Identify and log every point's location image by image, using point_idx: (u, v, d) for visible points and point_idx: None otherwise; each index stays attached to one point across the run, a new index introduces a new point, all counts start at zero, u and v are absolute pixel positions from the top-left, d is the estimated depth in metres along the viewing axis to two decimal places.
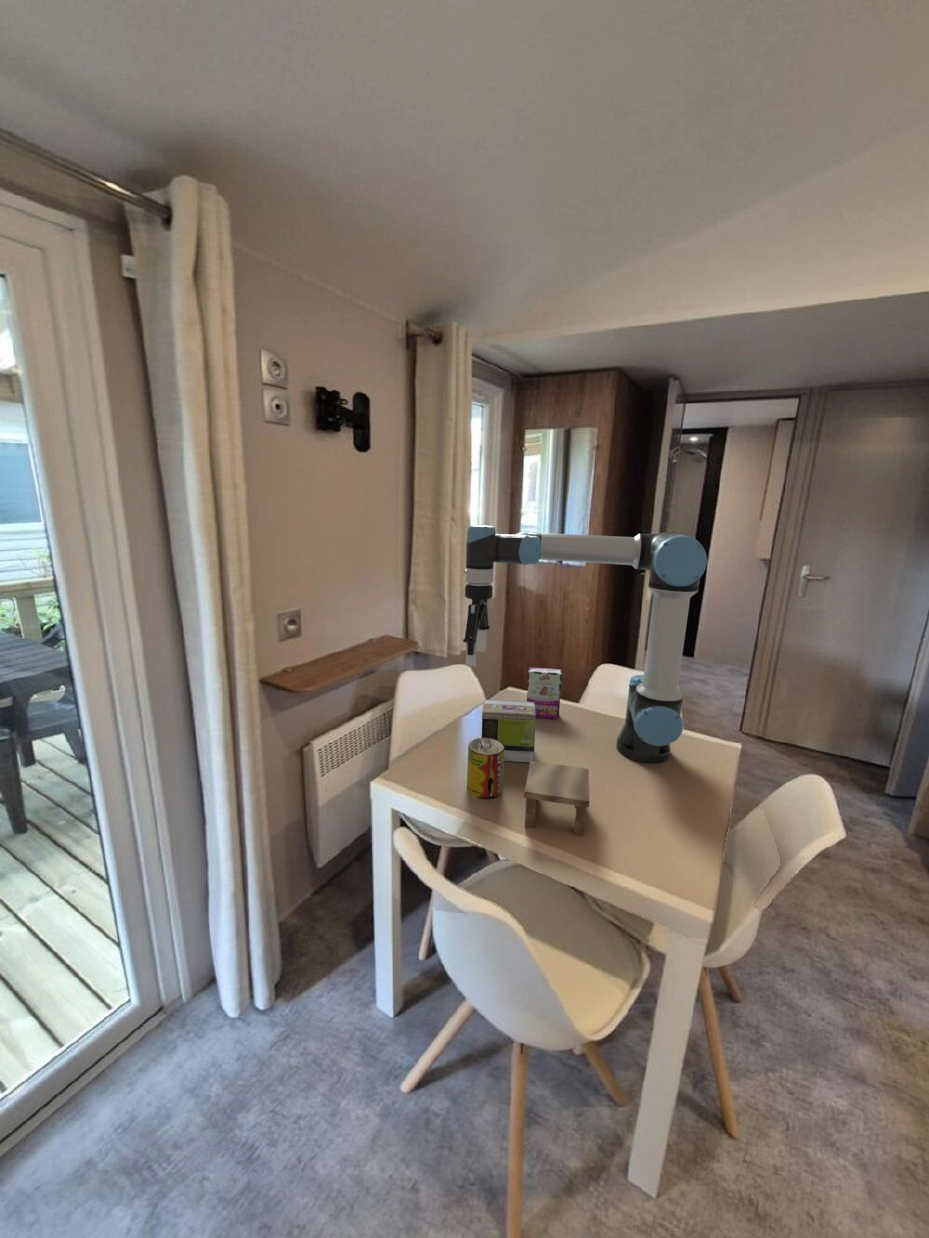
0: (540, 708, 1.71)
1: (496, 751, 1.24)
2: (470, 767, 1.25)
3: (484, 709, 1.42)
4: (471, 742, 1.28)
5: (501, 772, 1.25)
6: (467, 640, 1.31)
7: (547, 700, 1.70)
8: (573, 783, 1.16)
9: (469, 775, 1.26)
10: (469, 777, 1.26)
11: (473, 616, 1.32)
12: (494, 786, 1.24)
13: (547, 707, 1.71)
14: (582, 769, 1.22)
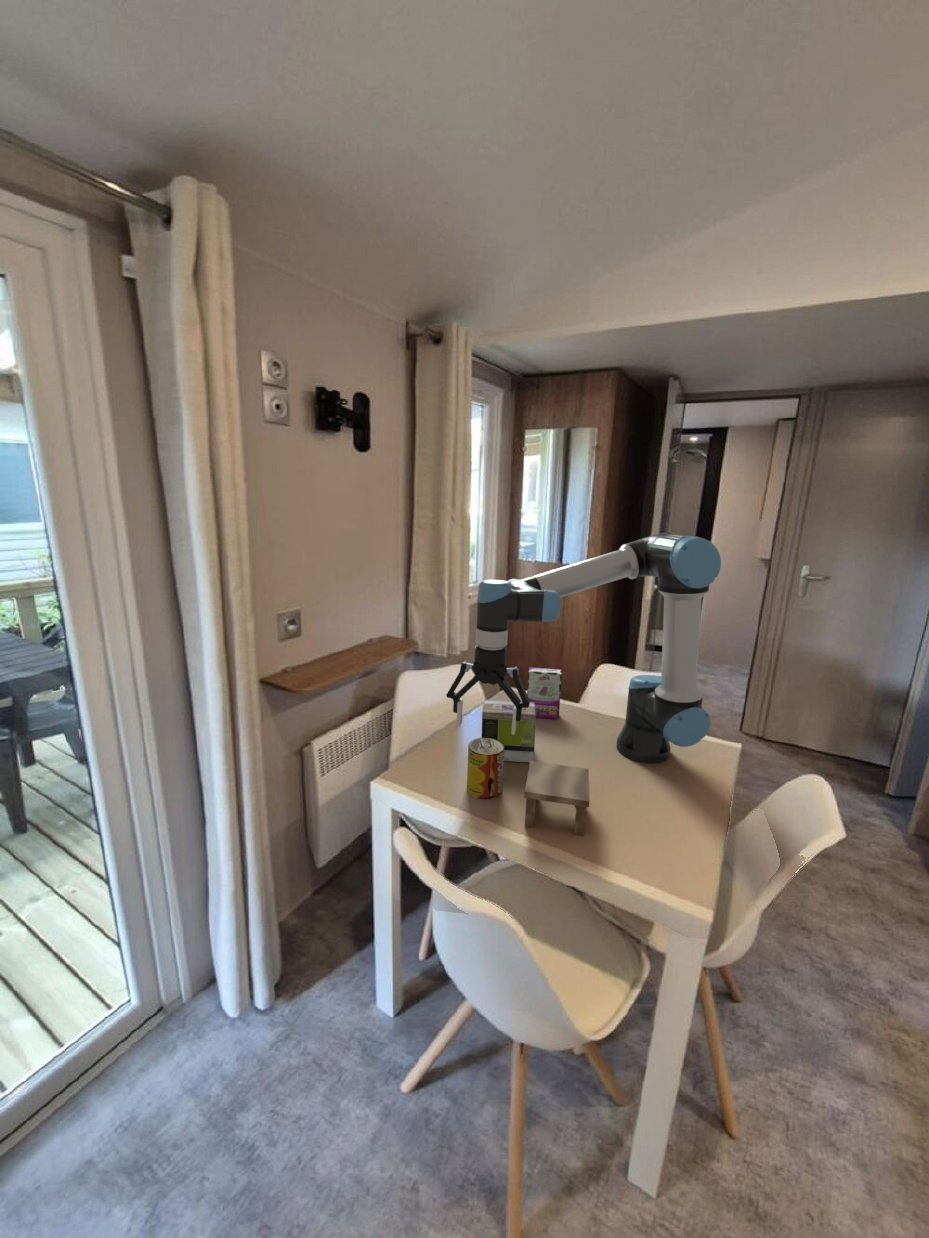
0: (540, 708, 1.71)
1: (496, 751, 1.23)
2: (470, 767, 1.25)
3: (484, 709, 1.42)
4: (471, 742, 1.28)
5: (501, 772, 1.25)
6: None
7: (547, 700, 1.70)
8: (573, 783, 1.16)
9: (469, 775, 1.26)
10: (469, 777, 1.26)
11: (459, 672, 1.23)
12: (494, 786, 1.24)
13: (547, 707, 1.71)
14: (582, 769, 1.22)
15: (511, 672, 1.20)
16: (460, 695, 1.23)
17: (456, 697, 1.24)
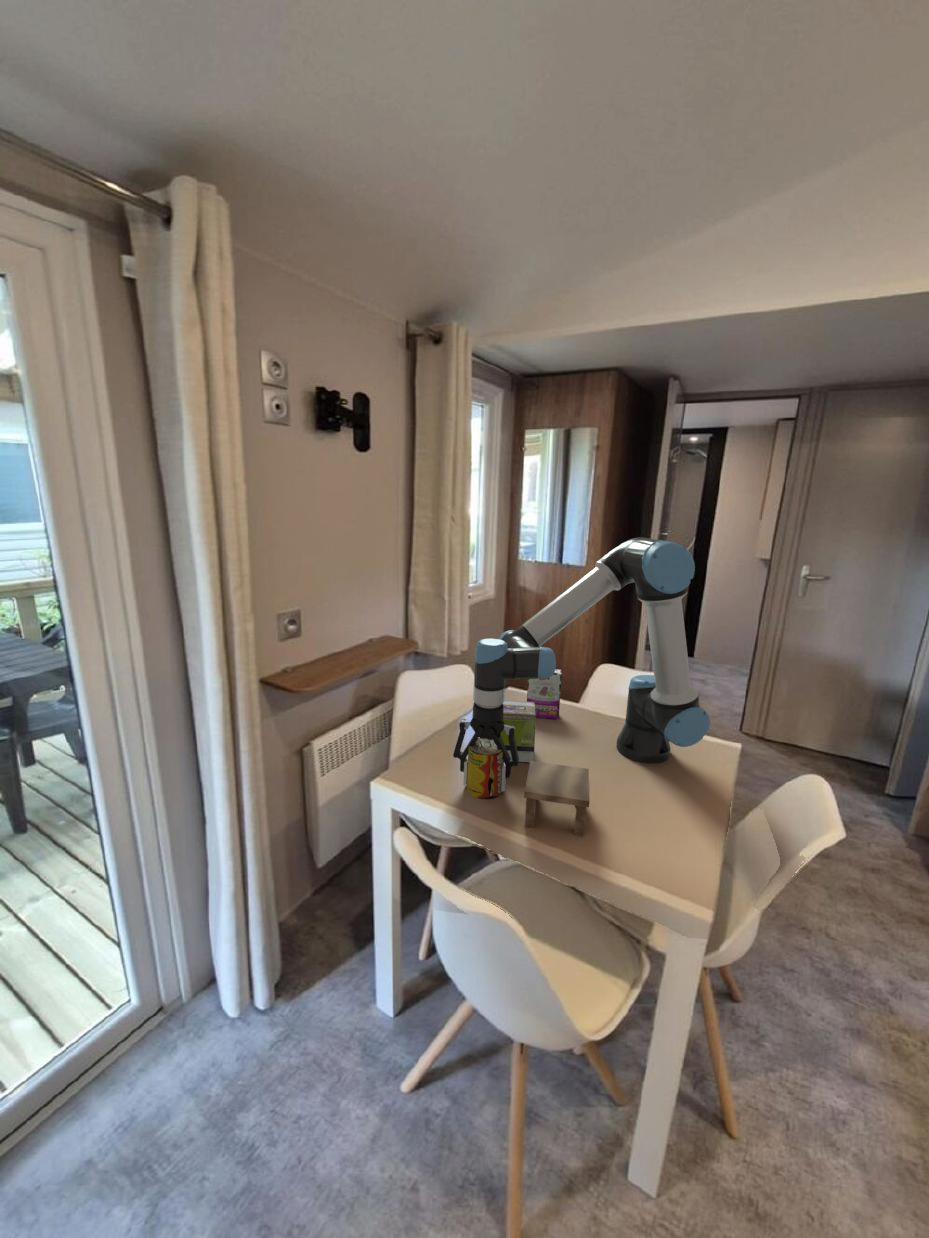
0: (540, 708, 1.71)
1: (496, 751, 1.23)
2: (470, 767, 1.25)
3: None
4: None
5: (501, 772, 1.25)
6: None
7: (547, 700, 1.70)
8: (573, 783, 1.16)
9: (469, 775, 1.26)
10: (469, 777, 1.26)
11: None
12: (494, 786, 1.24)
13: (547, 707, 1.71)
14: (582, 769, 1.22)
15: (508, 730, 1.23)
16: (465, 754, 1.27)
17: (462, 757, 1.27)
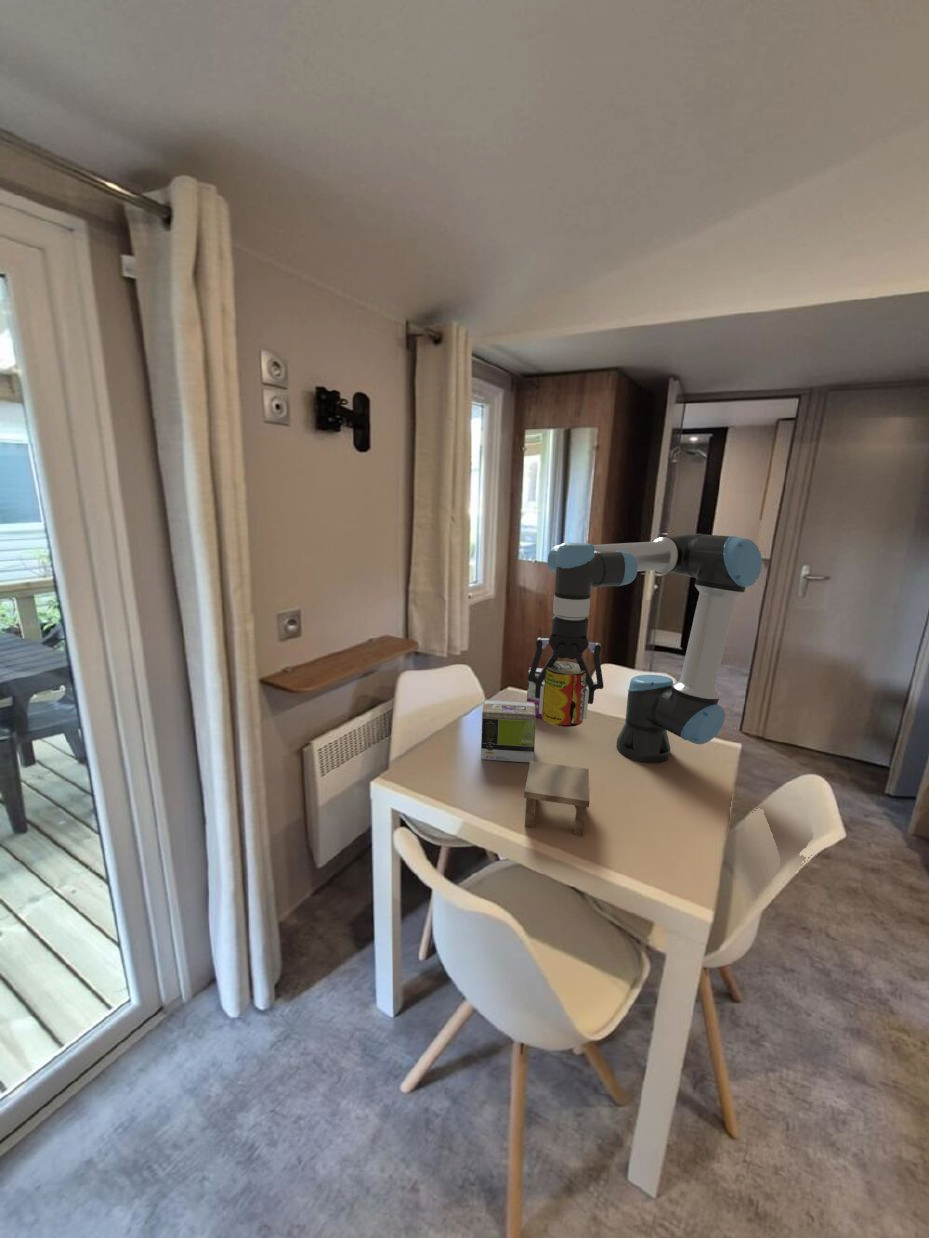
0: None
1: (580, 671, 1.09)
2: (549, 691, 1.10)
3: (484, 709, 1.42)
4: None
5: (583, 697, 1.11)
6: None
7: None
8: (573, 783, 1.16)
9: (547, 700, 1.11)
10: (547, 703, 1.11)
11: None
12: (576, 711, 1.09)
13: None
14: (582, 769, 1.22)
15: (593, 647, 1.09)
16: (542, 677, 1.12)
17: (539, 680, 1.12)
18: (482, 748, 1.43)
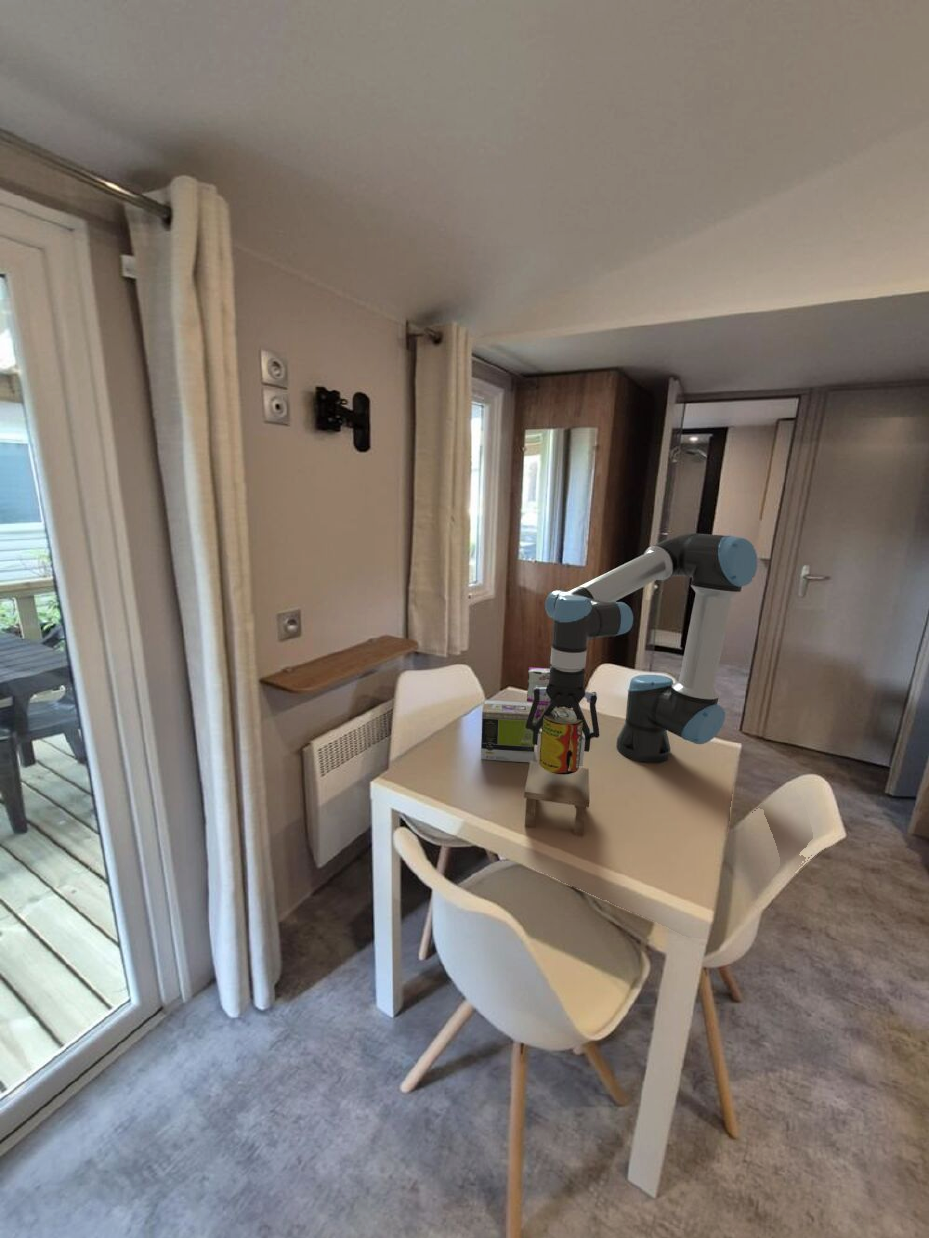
0: (540, 708, 1.71)
1: (576, 721, 1.11)
2: (546, 739, 1.13)
3: (484, 709, 1.42)
4: None
5: (580, 744, 1.13)
6: (526, 723, 1.17)
7: (547, 700, 1.70)
8: (573, 783, 1.16)
9: (544, 748, 1.13)
10: (544, 750, 1.13)
11: None
12: (572, 759, 1.12)
13: None
14: (582, 769, 1.22)
15: (589, 697, 1.11)
16: (540, 725, 1.14)
17: (536, 728, 1.14)
18: (482, 748, 1.43)
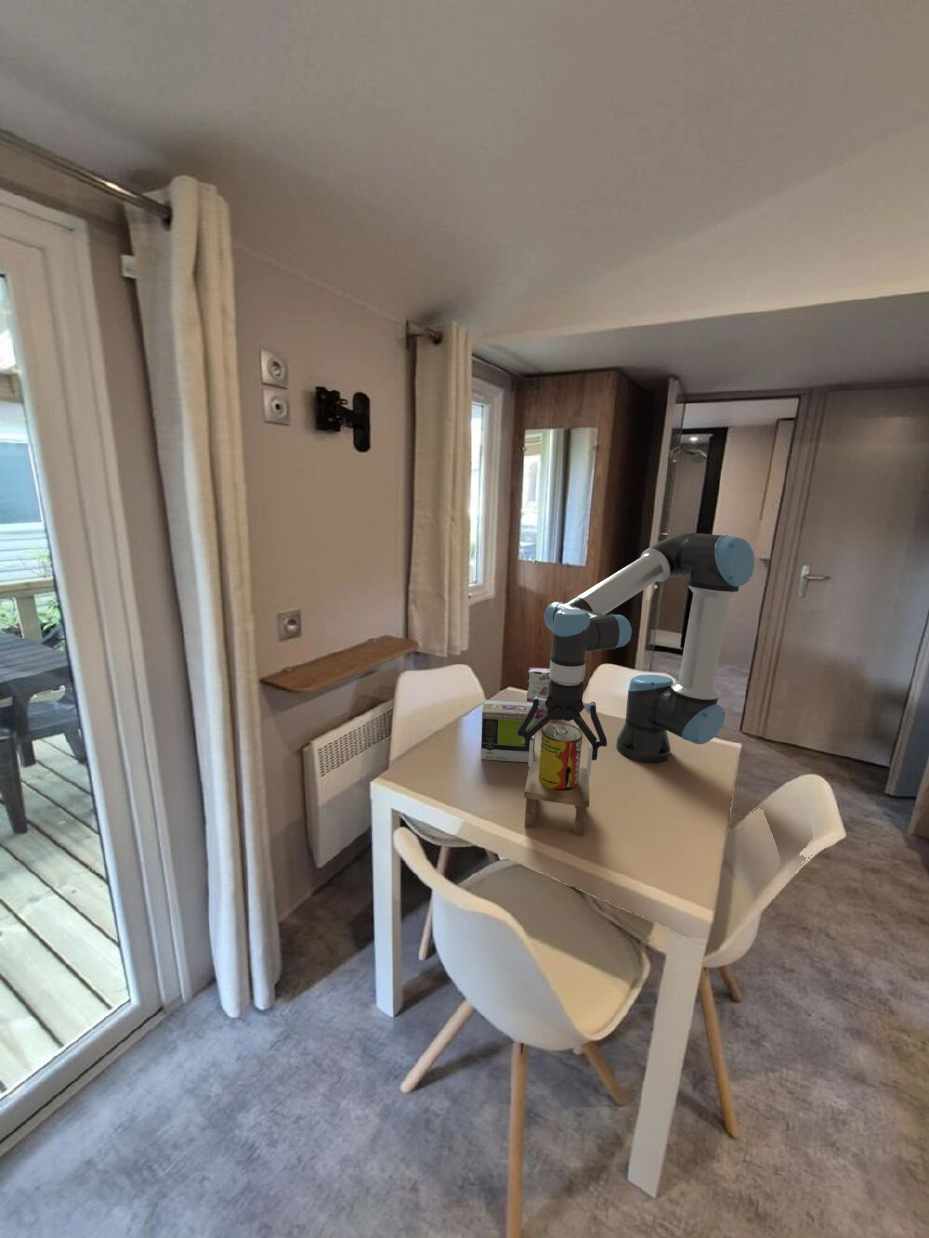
0: (540, 708, 1.71)
1: (575, 737, 1.12)
2: (545, 755, 1.14)
3: (484, 709, 1.42)
4: (544, 728, 1.16)
5: (579, 761, 1.14)
6: (518, 730, 1.17)
7: None
8: None
9: (543, 764, 1.14)
10: (543, 766, 1.14)
11: (531, 708, 1.15)
12: (571, 776, 1.13)
13: None
14: (582, 769, 1.22)
15: (588, 708, 1.12)
16: (533, 733, 1.15)
17: (528, 735, 1.15)
18: (482, 748, 1.43)
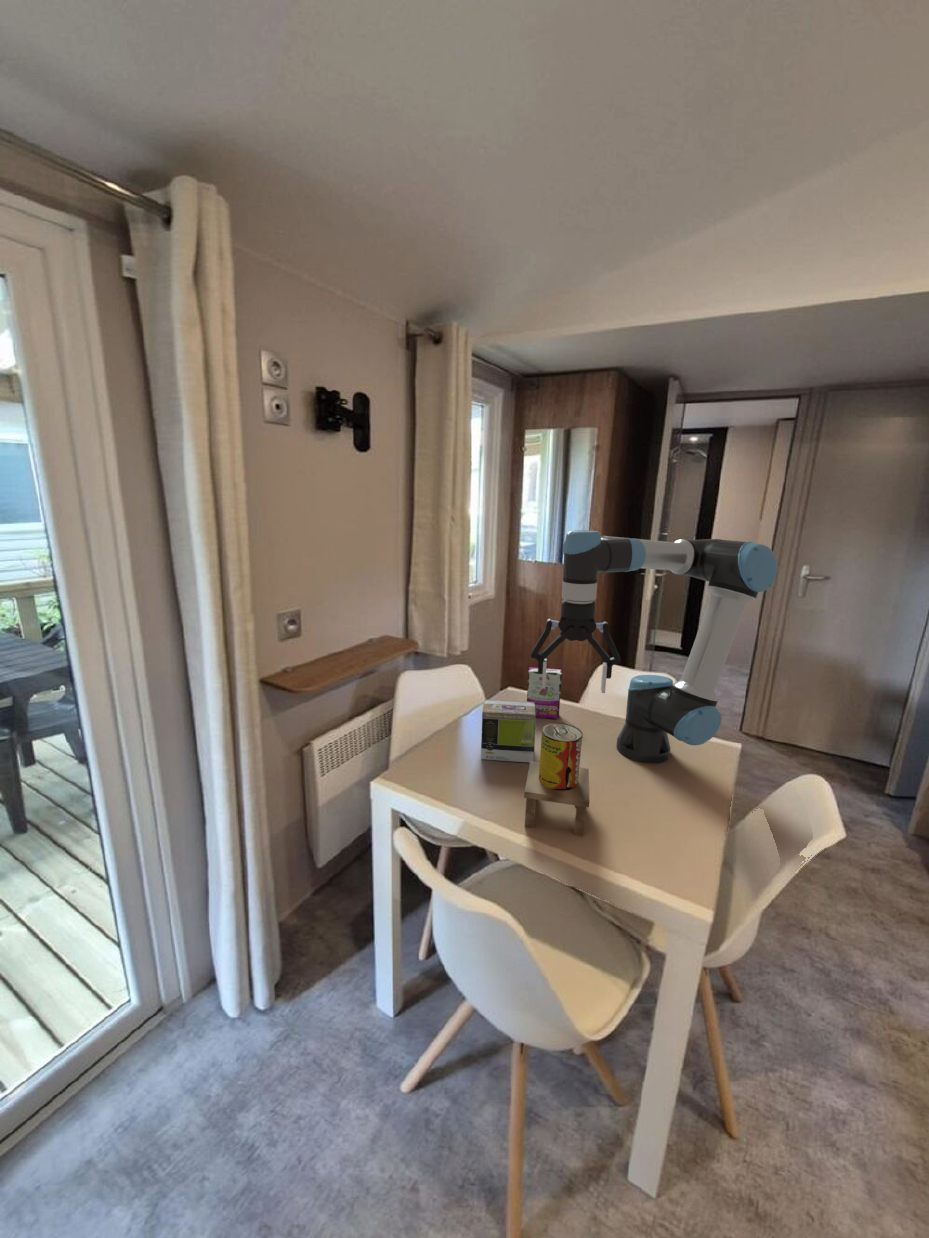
0: (540, 708, 1.71)
1: (575, 737, 1.12)
2: (545, 755, 1.14)
3: (484, 709, 1.42)
4: (544, 728, 1.16)
5: (579, 761, 1.14)
6: (531, 653, 1.20)
7: (547, 700, 1.70)
8: None
9: (543, 764, 1.14)
10: (543, 766, 1.14)
11: (544, 631, 1.17)
12: (571, 776, 1.13)
13: (547, 707, 1.71)
14: (582, 769, 1.22)
15: (601, 627, 1.14)
16: (546, 654, 1.17)
17: (541, 657, 1.18)
18: (482, 748, 1.43)
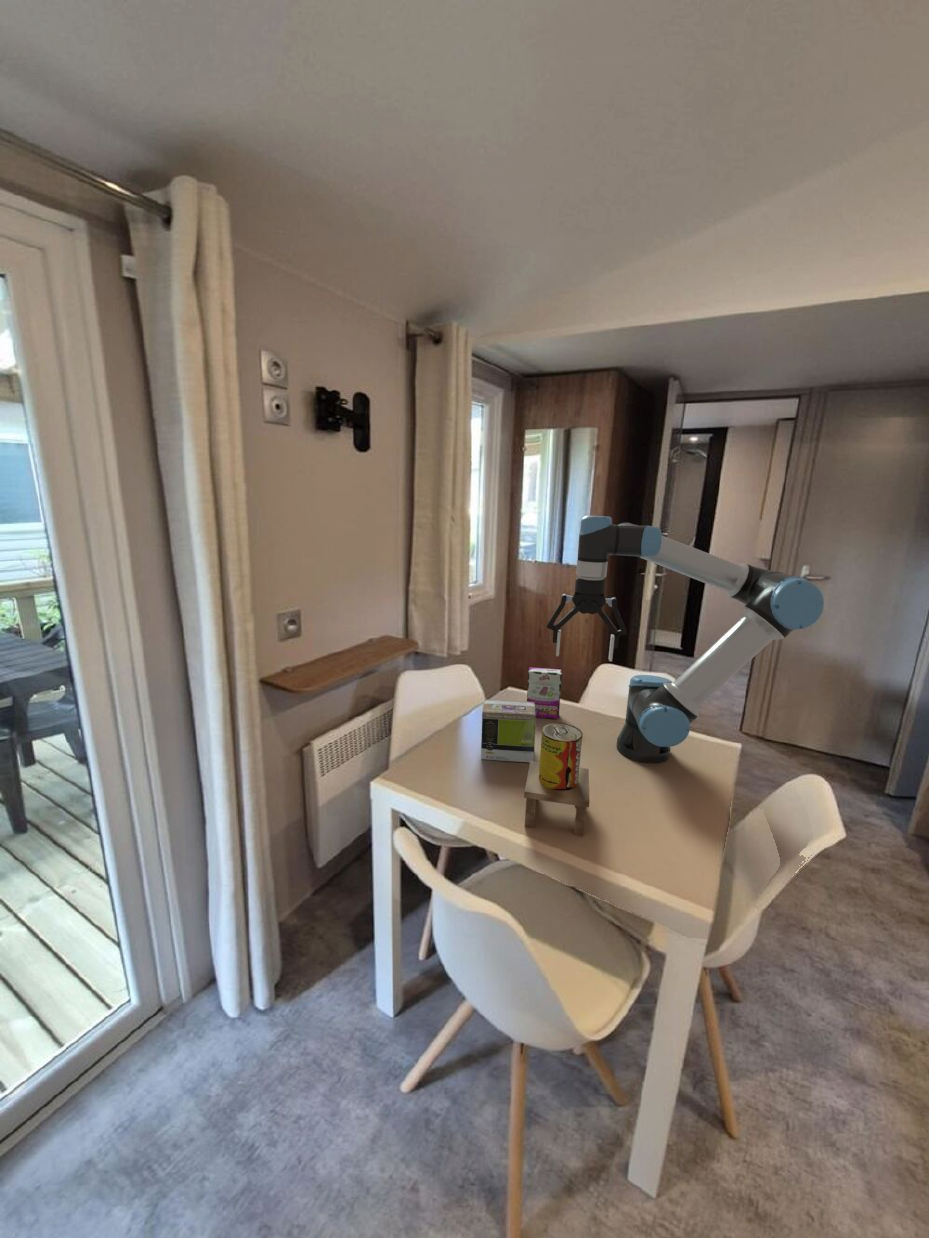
0: (540, 708, 1.71)
1: (575, 737, 1.12)
2: (545, 755, 1.14)
3: (484, 709, 1.42)
4: (544, 728, 1.16)
5: (579, 761, 1.14)
6: (547, 624, 1.35)
7: (547, 700, 1.70)
8: None
9: (543, 764, 1.14)
10: (543, 766, 1.14)
11: (559, 604, 1.32)
12: (571, 776, 1.13)
13: (547, 707, 1.71)
14: (582, 769, 1.22)
15: (610, 602, 1.29)
16: (560, 625, 1.32)
17: (556, 627, 1.33)
18: (482, 748, 1.43)
